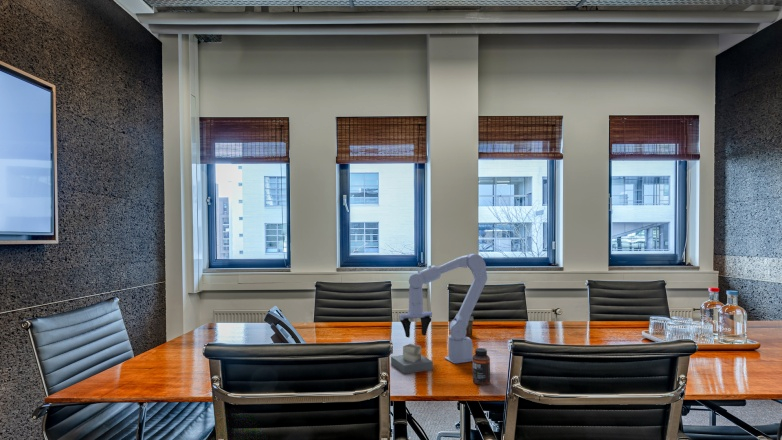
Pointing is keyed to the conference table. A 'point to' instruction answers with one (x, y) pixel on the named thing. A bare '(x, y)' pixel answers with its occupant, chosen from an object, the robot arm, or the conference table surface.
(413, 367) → the blue-gray box
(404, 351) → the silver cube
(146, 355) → the conference table surface
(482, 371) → the supplement bottle
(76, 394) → the conference table surface
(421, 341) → the conference table surface
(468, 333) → the food container
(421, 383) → the conference table surface
